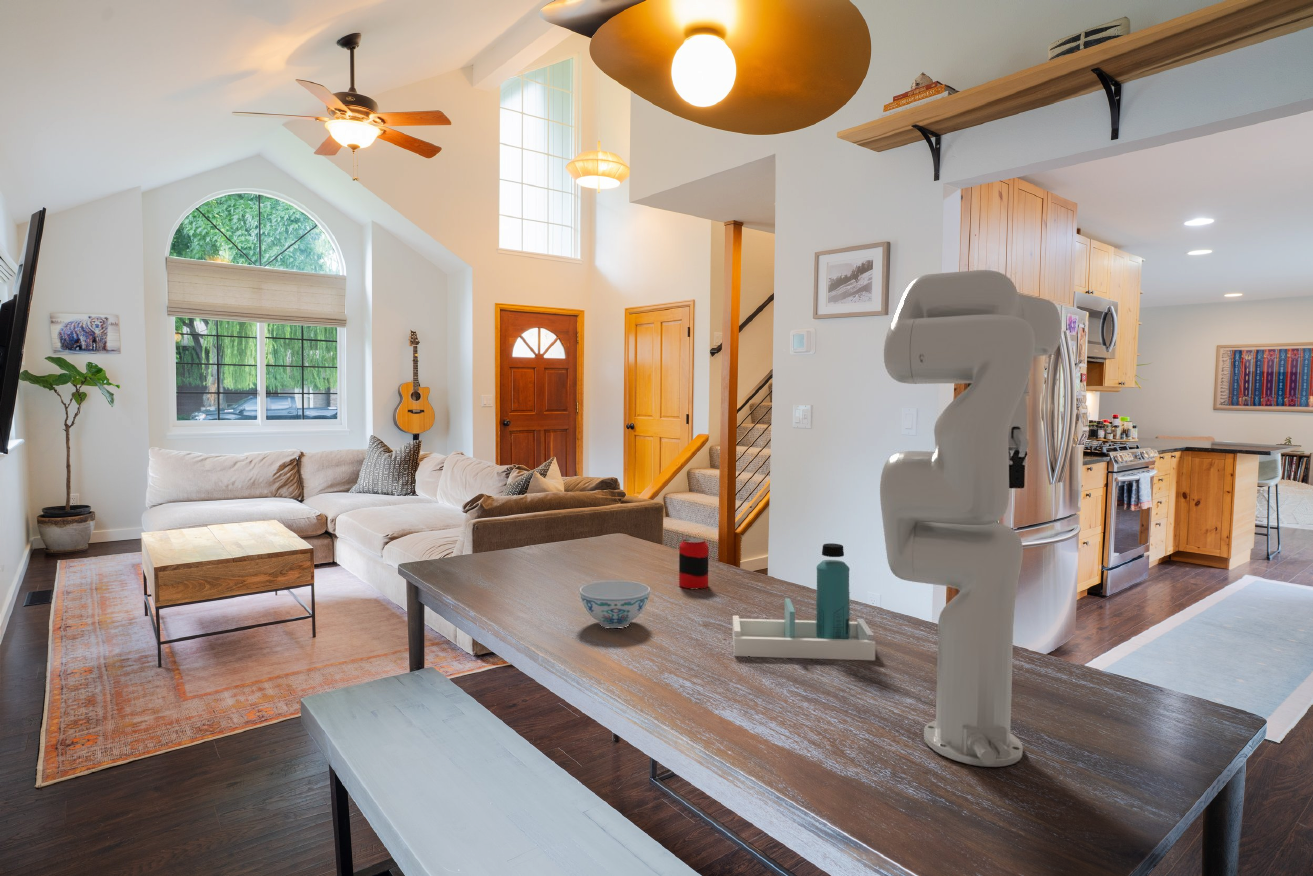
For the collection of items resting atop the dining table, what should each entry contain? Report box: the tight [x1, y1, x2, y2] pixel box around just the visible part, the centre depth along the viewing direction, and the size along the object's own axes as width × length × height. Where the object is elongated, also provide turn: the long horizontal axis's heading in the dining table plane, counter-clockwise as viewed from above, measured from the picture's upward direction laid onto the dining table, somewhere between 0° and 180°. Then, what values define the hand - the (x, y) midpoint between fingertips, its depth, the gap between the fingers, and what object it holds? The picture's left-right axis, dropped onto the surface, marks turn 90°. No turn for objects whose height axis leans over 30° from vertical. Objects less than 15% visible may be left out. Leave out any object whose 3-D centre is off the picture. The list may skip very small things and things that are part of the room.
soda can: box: [678, 537, 709, 589], centre depth 187 cm, size 8×8×12 cm
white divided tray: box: [731, 615, 876, 661], centre depth 140 cm, size 12×26×4 cm, turn 86°
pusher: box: [784, 597, 796, 638], centre depth 140 cm, size 9×1×8 cm, turn 176°
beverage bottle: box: [815, 542, 851, 639], centre depth 139 cm, size 6×7×20 cm
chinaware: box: [579, 580, 651, 628], centre depth 154 cm, size 15×15×8 cm
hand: (1002, 484), depth 127 cm, fingers open, 9 cm apart
